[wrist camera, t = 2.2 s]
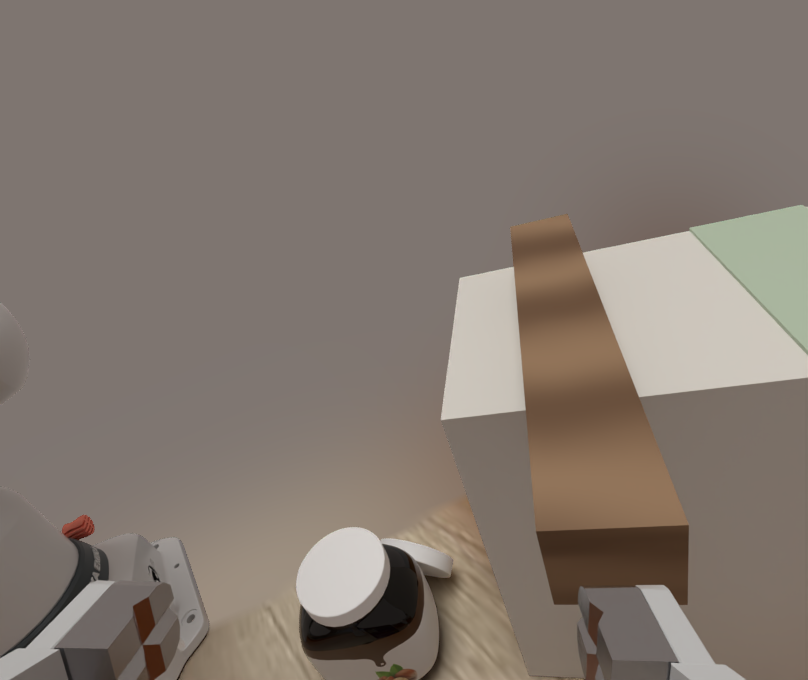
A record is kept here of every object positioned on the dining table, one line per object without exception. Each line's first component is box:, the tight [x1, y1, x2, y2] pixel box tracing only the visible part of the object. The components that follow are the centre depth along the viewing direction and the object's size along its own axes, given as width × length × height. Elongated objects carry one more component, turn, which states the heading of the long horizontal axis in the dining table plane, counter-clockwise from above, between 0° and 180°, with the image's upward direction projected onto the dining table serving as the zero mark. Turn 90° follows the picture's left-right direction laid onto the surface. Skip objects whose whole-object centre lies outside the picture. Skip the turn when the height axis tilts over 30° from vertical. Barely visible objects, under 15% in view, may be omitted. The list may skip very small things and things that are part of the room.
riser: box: [441, 205, 808, 680], centre depth 31 cm, size 15×24×26 cm, turn 81°
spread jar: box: [296, 527, 453, 680], centre depth 38 cm, size 12×11×12 cm
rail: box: [511, 214, 689, 605], centre depth 21 cm, size 22×4×4 cm, turn 171°
